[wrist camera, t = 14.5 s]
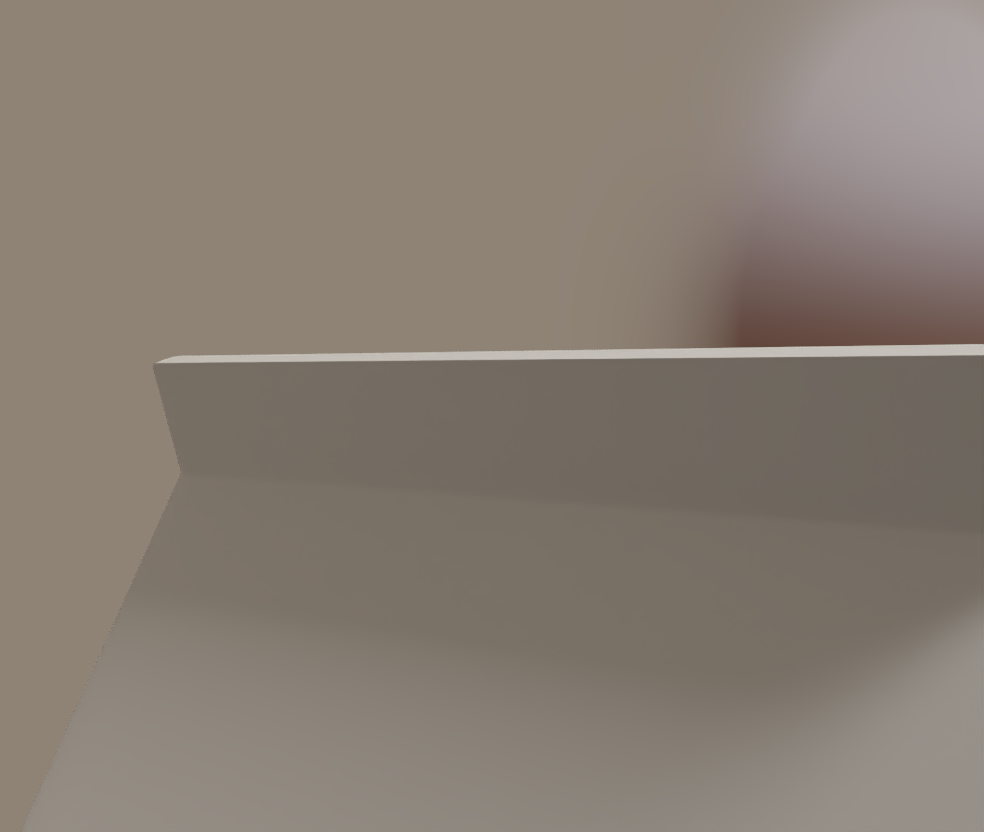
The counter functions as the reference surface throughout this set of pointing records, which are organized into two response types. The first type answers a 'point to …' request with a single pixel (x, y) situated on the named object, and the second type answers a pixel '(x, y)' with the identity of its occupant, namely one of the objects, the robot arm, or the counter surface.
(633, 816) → the milk carton
